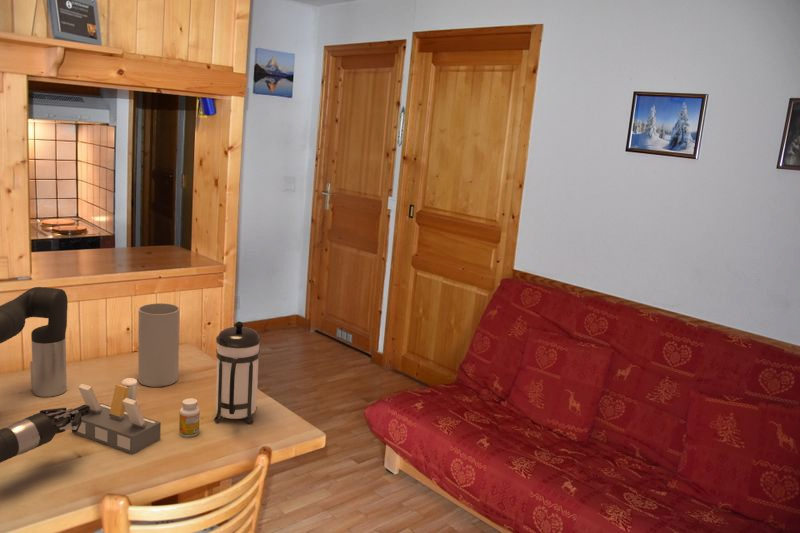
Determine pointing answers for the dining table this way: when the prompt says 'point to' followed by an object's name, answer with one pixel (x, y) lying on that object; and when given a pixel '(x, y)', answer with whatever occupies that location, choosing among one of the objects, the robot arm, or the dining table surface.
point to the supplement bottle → (189, 418)
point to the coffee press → (237, 373)
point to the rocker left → (90, 397)
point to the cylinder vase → (158, 344)
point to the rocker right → (134, 412)
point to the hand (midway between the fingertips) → (87, 408)
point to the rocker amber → (118, 402)
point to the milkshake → (131, 387)
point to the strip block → (118, 430)
